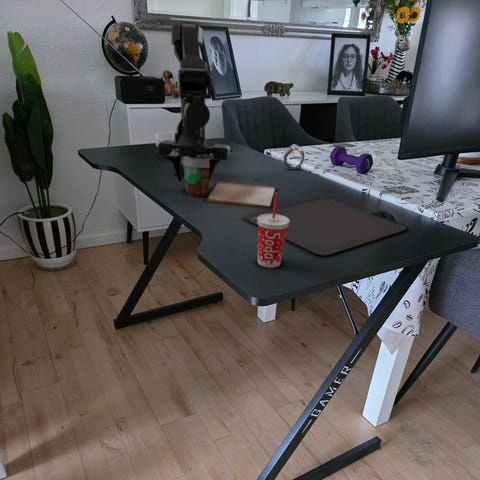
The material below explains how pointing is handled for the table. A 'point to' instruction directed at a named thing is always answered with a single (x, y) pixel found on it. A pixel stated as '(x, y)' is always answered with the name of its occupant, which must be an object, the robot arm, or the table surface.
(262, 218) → the beverage cup
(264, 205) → the placemat
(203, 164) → the food container
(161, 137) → the cereal bowl
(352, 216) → the mouse pad
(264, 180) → the table surface
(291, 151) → the ring
